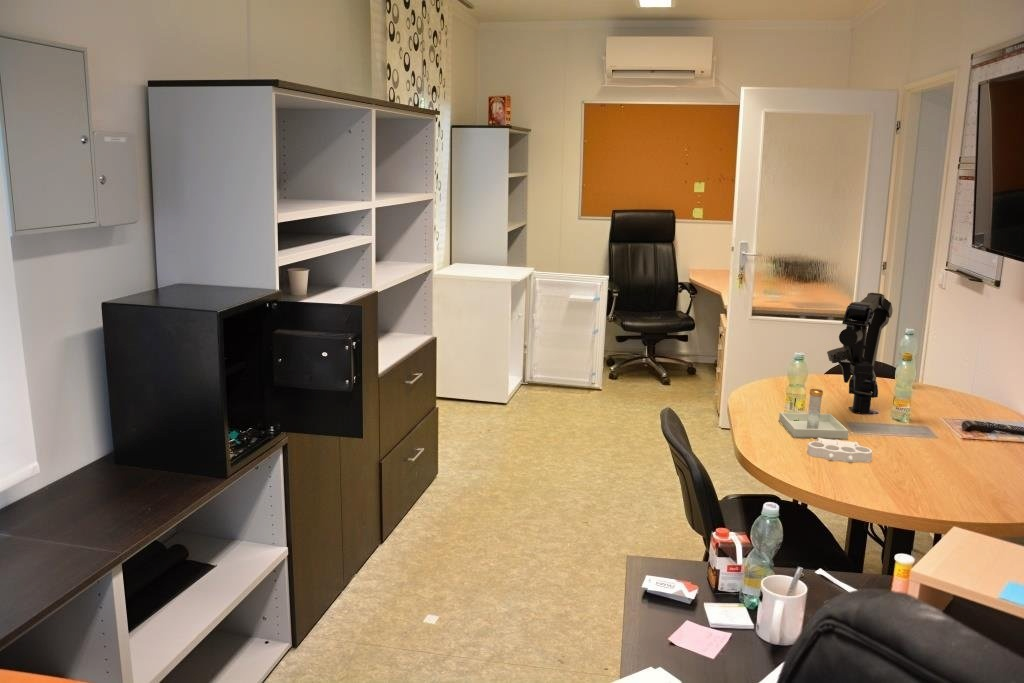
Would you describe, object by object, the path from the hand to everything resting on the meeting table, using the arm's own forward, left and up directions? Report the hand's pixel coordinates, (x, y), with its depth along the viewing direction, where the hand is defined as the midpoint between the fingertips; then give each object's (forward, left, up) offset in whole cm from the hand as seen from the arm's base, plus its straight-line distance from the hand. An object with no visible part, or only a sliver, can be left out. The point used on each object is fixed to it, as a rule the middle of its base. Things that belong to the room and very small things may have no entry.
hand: (850, 386), depth 272 cm
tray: (+8, -14, -13) cm, 21 cm away
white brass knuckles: (+30, -13, -14) cm, 36 cm away
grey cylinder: (+8, -14, -12) cm, 20 cm away
